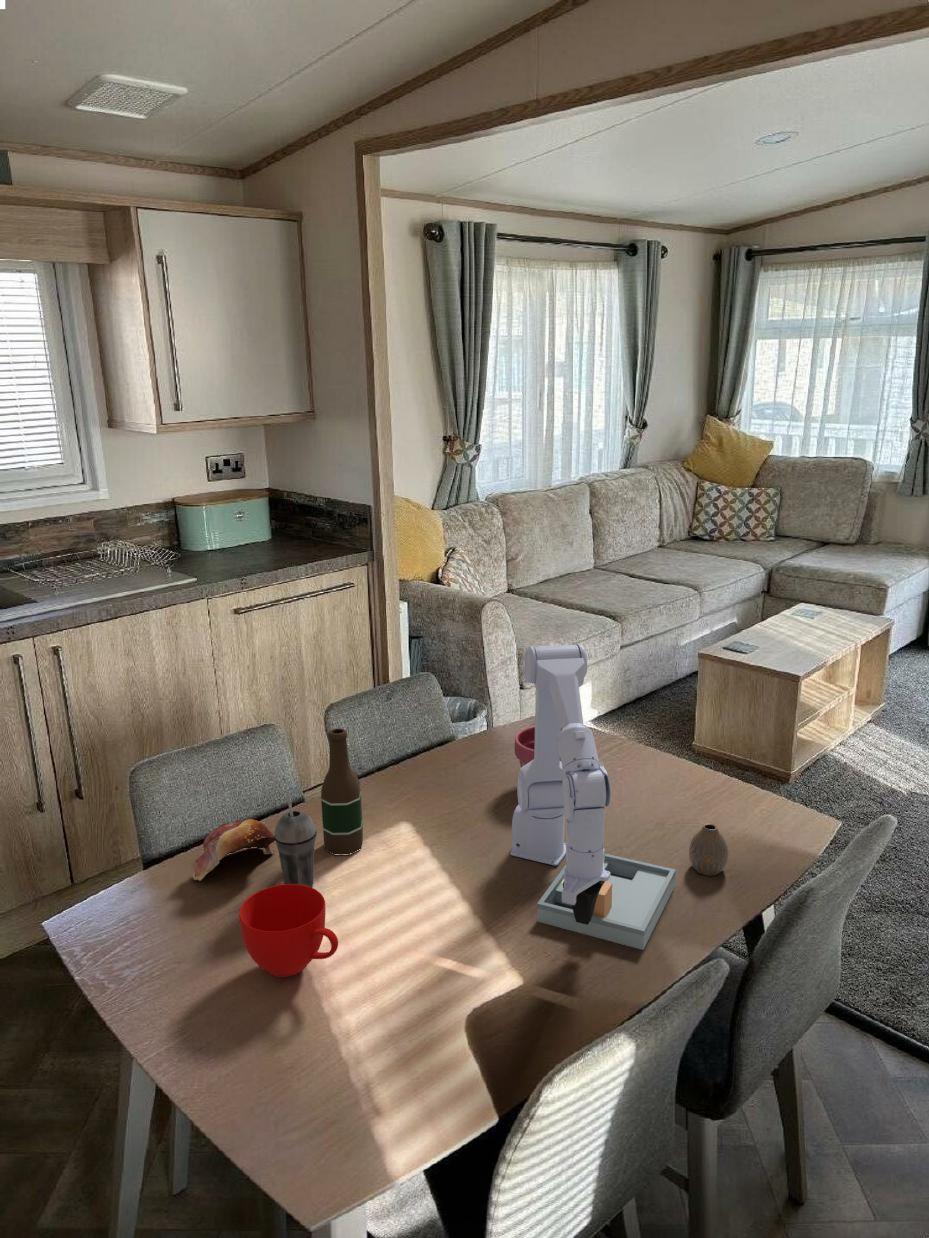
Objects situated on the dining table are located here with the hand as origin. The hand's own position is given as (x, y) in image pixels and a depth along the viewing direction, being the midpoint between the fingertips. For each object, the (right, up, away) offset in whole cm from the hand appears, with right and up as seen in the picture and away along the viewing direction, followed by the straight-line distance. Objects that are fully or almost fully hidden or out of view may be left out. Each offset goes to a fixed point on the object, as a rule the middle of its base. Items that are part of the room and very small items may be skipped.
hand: (583, 921), depth 142 cm
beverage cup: (-48, -1, +17) cm, 51 cm away
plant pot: (-1, +10, +53) cm, 54 cm away
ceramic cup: (-45, -6, -3) cm, 45 cm away
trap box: (+6, -1, +12) cm, 14 cm away
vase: (+26, +2, +22) cm, 34 cm away
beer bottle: (-42, +3, +32) cm, 53 cm away
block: (+3, 0, +6) cm, 7 cm away
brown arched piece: (-61, +1, +25) cm, 66 cm away
